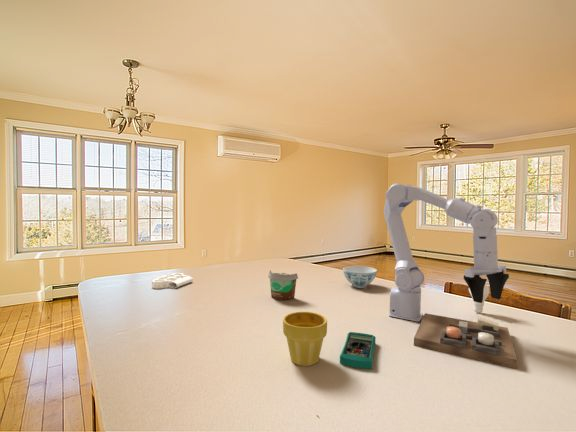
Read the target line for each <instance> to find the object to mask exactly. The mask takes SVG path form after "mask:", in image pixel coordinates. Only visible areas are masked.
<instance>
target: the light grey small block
mask: <svg viewBox="0 0 576 432" xmlns="http://www.w3.org/2000/svg"><path fill="white" fill-rule="evenodd" d="M467 323H468V322H464V321H459V329H460V330H461V333H463V334H467Z"/></svg>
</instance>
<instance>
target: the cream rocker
mask: <svg viewBox="0 0 576 432" xmlns="http://www.w3.org/2000/svg"><path fill="white" fill-rule="evenodd" d="M476 322H477V325H480V326H483V325H486V326H492V327H493V330H496V331H498V330H499V326H500V323H499V322H498V321H495V320H492V319H490V318H486V317H482V316H479V315H478V316H477V320H476Z"/></svg>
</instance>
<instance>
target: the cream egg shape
mask: <svg viewBox="0 0 576 432" xmlns="http://www.w3.org/2000/svg"><path fill="white" fill-rule="evenodd" d="M478 342H480V343H482V344H485V345H493V342H494V336H493V335H491V334H489V333H484V332H480V333H478Z"/></svg>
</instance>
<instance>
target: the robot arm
mask: <svg viewBox="0 0 576 432" xmlns="http://www.w3.org/2000/svg"><path fill="white" fill-rule="evenodd" d="M384 195H385V202H384V207H383V215H384V220H385V223H386V227H387V231H388V234H389V238H390V242H391V245H392V250H393V252H394V257H395V260H396V264H395V267H394V272H395V276H394V283H395V286H396V287H391V290H390V295H389V315H388V316H389V317H392V318H398V319H402V320H408V321H413V322H420V323H421V321H422V319H423V317H424V313H423V312H421V307H422V306H421V303H422V302H421V301H422V288H421V285H423V283H424V282H425V275H424V273H423V272H422V270H421V269H420V267H419V264H418V263H417V262H416V260H415V259H414V257H413V252H412V249H411V247H410V243H409V239H408V236H407V232H406V228H405V224H404V221H403V217H402V213H403V211H404V210H405V209H406V207H407V206H409V205H410V204H412V203H413V202H414V201H423V202H424V203H427V204H430V205H432V206H434V207H438V208H440V209H443V210H444V211H445V214H446V216H449V217H451V218H452V219H454V220H457V221H460V222H462V223H464V224H465V225H466V224H467V225H470V226H471V227H472V229H473V236H472V238H473V239H472V244H473V267H470V268H467V269H464V275H463V280H464V281H465V283H466V284H467V286H468V289H469V288H470V291H471V294H472V296H471V298H472V297H473V299H472V301H473V300H474V302H478V303H482V301H483V290H484V286H485V284H486V282H487V281H488V284H489V293H490V296H491V298H492V299H495V300H501V298H502V295H503V290H504V287H505V284H507V281H508V280H509V278H510V275H509V273H507V266H506V265H503V264H499V258H498V257H499V256H498V254H499V253H498V236H497V227H496V226H497V225H498V221H499V218H498V215H497V214H496V213H495V212H494V211H493V210H491V209H489V208H485V209H483V206H482V205H479V204H477V205H475V204H472V203H470V202H468V201H466V198H463V197H459V198H457V197H455V198H451V199H448V198H446V197H444V196H441V195H439V194H437V193H434V192H432V191H430V190H428V189H425V188H422V187H420V186H419V187H418V186H414V185H410V184H401V183H392V185H391V186H389V188H388V189H387V191H386V192H385V193H384ZM481 276H485V277H486V278H483V277H481Z"/></svg>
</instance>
